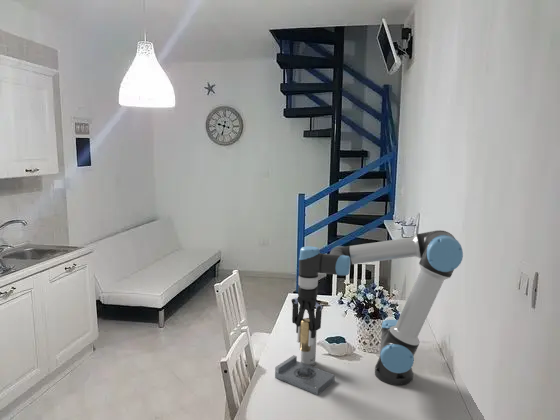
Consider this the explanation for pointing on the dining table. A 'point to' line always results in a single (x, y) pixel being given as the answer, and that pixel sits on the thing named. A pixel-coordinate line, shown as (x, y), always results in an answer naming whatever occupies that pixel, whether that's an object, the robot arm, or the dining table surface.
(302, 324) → the gold metal cylinder
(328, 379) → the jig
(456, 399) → the dining table surface
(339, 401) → the dining table surface
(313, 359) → the travel mug
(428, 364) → the dining table surface
